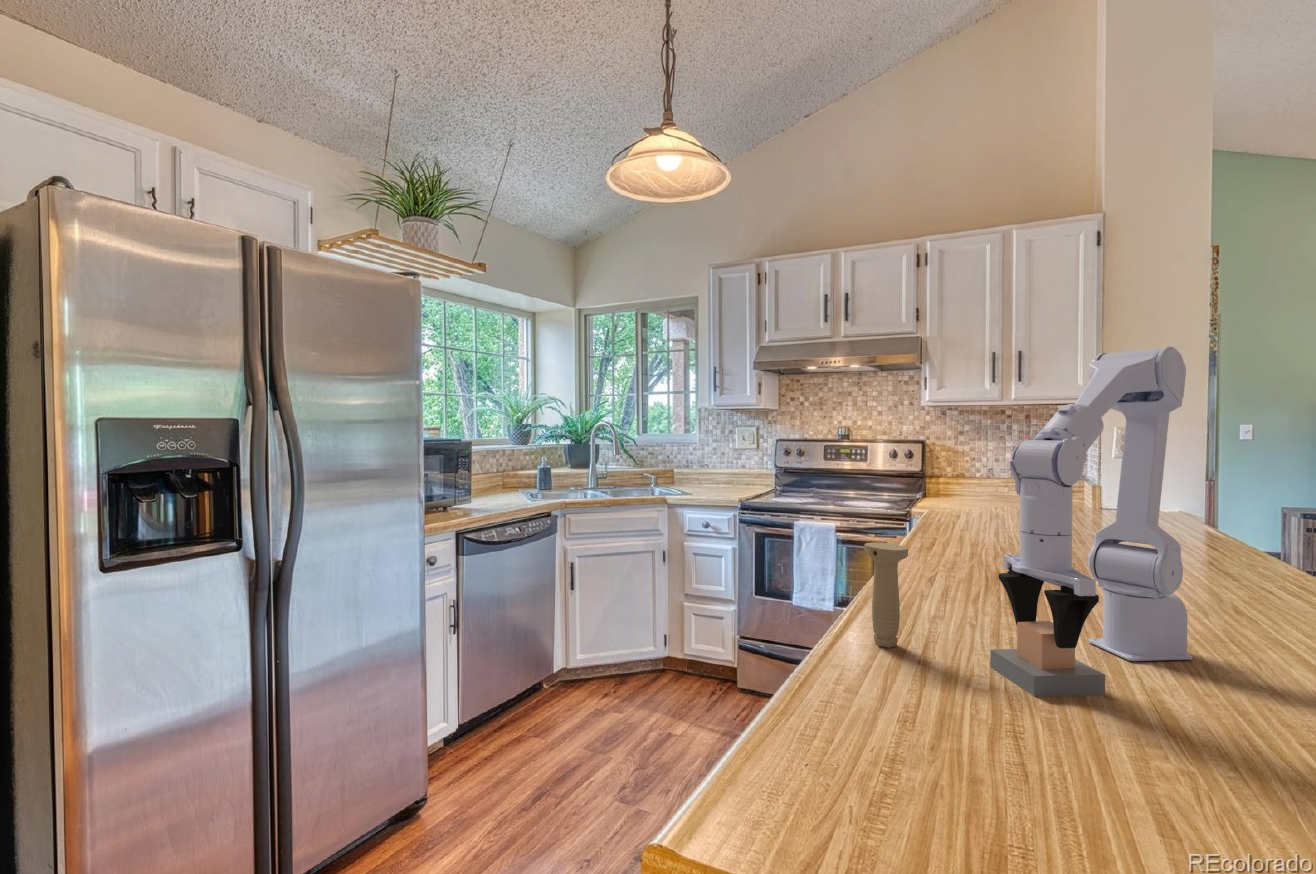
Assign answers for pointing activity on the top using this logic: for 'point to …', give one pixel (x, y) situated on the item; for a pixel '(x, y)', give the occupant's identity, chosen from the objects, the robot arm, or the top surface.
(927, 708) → the top surface
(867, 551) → the handle
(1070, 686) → the plate
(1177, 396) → the robot arm
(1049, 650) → the terracotta block
